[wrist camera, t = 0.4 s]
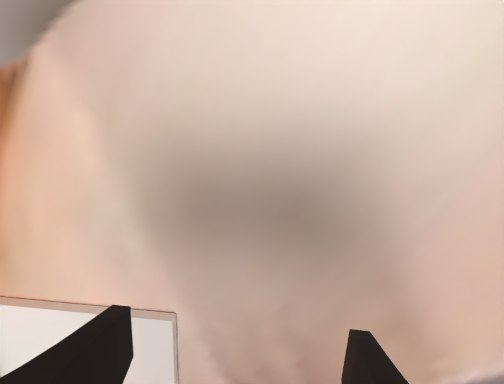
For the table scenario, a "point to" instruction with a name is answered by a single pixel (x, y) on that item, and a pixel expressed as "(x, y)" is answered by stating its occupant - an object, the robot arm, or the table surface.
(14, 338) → the shelf board
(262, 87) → the table surface
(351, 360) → the robot arm
